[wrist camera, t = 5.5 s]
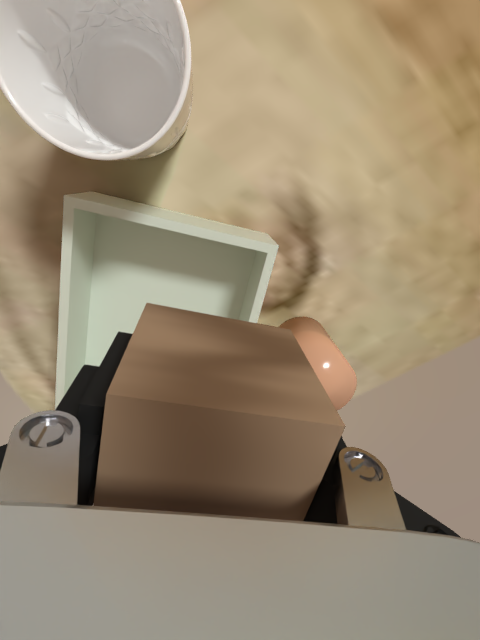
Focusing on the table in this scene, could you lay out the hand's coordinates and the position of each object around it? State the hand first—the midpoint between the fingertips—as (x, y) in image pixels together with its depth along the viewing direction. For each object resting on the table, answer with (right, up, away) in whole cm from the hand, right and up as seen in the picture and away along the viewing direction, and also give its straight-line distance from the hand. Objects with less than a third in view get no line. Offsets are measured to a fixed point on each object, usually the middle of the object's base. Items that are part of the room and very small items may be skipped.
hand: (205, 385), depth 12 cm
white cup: (-5, +17, +11) cm, 21 cm away
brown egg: (+7, 0, +18) cm, 20 cm away
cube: (0, 0, 0) cm, 1 cm away
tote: (-5, +3, +17) cm, 17 cm away
